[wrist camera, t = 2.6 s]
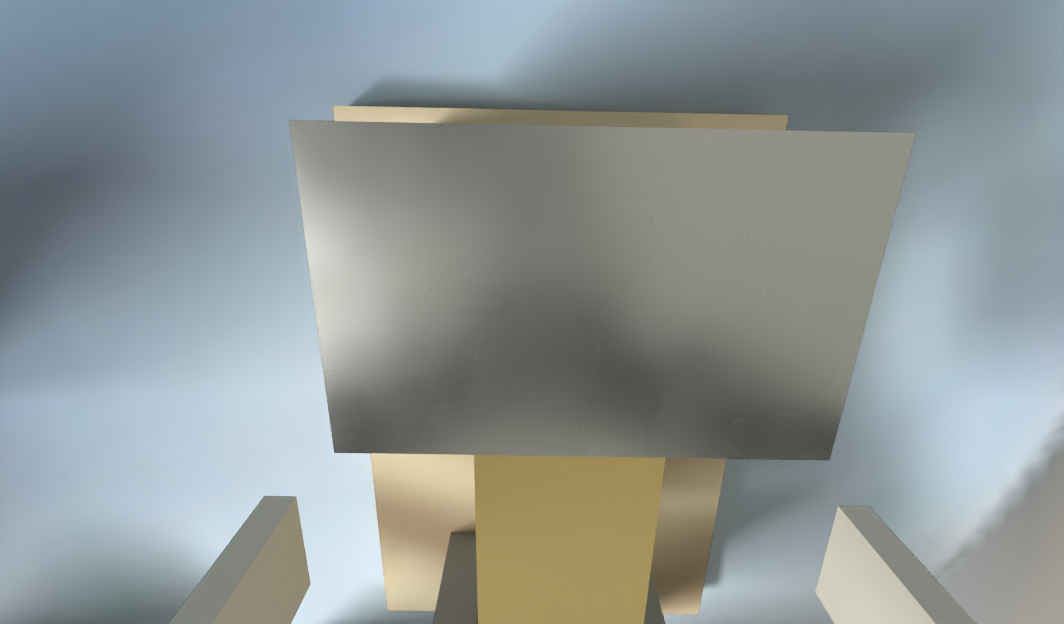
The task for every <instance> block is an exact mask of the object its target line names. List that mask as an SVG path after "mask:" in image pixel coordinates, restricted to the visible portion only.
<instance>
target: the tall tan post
mask: <svg viewBox="0 0 1064 624" xmlns="http://www.w3.org/2000/svg"><path fill="white" fill-rule="evenodd" d="M664 465H665V458H650V457H584V456H518V455H474V477H475V518H476V560H477V601H478V624H644V617H645V610H646V602H647V595H648V587H649V579H650V572H651V564H652V556H653V549H654V541H655V533H656V526H657V518H658V511H659V503H660V495H661V488H662V480H663V472H664Z"/></svg>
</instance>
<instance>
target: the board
mask: <svg viewBox="0 0 1064 624" xmlns="http://www.w3.org/2000/svg"><path fill="white" fill-rule="evenodd" d="M333 110H334V119H335V121H356V122H405V123H454V124H503V125H552V126H601V127H650V128H699V129H748V130H786V127H787V121H788V116H789V115H760V114H711V113H663V112H614V111H566V110H518V109H469V108H421V107H373V106H333ZM371 462H372V472H373V481H374V490H375V499H376V509H377V518H378V527H379V537H380V546H381V555H382V564H383V574H384V583H385V592H386V602H387V611H435V609H436V604H437V599H438V594H439V589H440V584H441V579H442V574H443V569H444V564H445V559H446V554H447V549H448V544H449V539H450V534H451V533H476V518H475V477H474V455H452V454H386V453H371ZM725 464H726V459H716V458H665V465H664V472H663V480H662V488H661V495H660V503H659V511H658V518H657V526H656V533H655V541H654V549H653V556H652V564H651V573H652V576H653V580H654V584H655V587H656V591H657V595H658V598H659V602H660V606H661V610H662V613H663V614H693V615H698V614H699V608H700V603H701V597H702V592H703V586H704V580H705V575H706V569H707V564H708V558H709V553H710V547H711V542H712V536H713V531H714V525H715V520H716V514H717V509H718V503H719V497H720V492H721V486H722V481H723V475H724V470H725Z"/></svg>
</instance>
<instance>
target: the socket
mask: <svg viewBox="0 0 1064 624" xmlns="http://www.w3.org/2000/svg"><path fill="white" fill-rule="evenodd" d="M433 624H478V601H477V560H476V533H451V534H450V539H449V544H448V549H447V554H446V559H445V564H444V569H443V574H442V579H441V584H440V589H439V594H438V599H437V604H436V609H435V614H434V619H433ZM644 624H665V621H664V617H663V613H662V610H661V606H660V602H659V598H658V595H657V591H656V587H655V584H654V580H653V576H652V573H651V572H650V579H649V587H648V595H647V602H646V610H645V617H644Z"/></svg>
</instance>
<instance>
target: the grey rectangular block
mask: <svg viewBox="0 0 1064 624" xmlns="http://www.w3.org/2000/svg"><path fill="white" fill-rule="evenodd" d="M289 125H290V132H291V139H292V147H293V154H294V161H295V169H296V176H297V183H298V191H299V198H300V205H301V212H302V220H303V227H304V234H305V242H306V249H307V256H308V264H309V271H310V278H311V285H312V293H313V300H314V307H315V315H316V322H317V329H318V337H319V344H320V351H321V359H322V366H323V373H324V380H325V388H326V395H327V402H328V410H329V417H330V424H331V432H332V439H333V446H334V453H386V454H452V455H518V456H584V457H650V458H716V459H782V460H829V459H830V456H831V452H832V448H833V444H834V441H835V437H836V433H837V429H838V425H839V422H840V418H841V414H842V410H843V406H844V403H845V399H846V395H847V391H848V388H849V384H850V380H851V376H852V372H853V369H854V365H855V361H856V357H857V354H858V350H859V346H860V342H861V338H862V335H863V331H864V327H865V323H866V320H867V316H868V312H869V308H870V304H871V301H872V297H873V293H874V289H875V285H876V282H877V278H878V274H879V270H880V267H881V263H882V259H883V255H884V251H885V248H886V244H887V240H888V236H889V233H890V229H891V225H892V221H893V217H894V214H895V210H896V206H897V202H898V199H899V195H900V191H901V187H902V183H903V180H904V176H905V172H906V168H907V164H908V161H909V157H910V153H911V149H912V146H913V142H914V138H915V134H916V133H895V132H846V131H797V130H748V129H699V128H650V127H601V126H552V125H503V124H454V123H405V122H356V121H307V120H289Z"/></svg>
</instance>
